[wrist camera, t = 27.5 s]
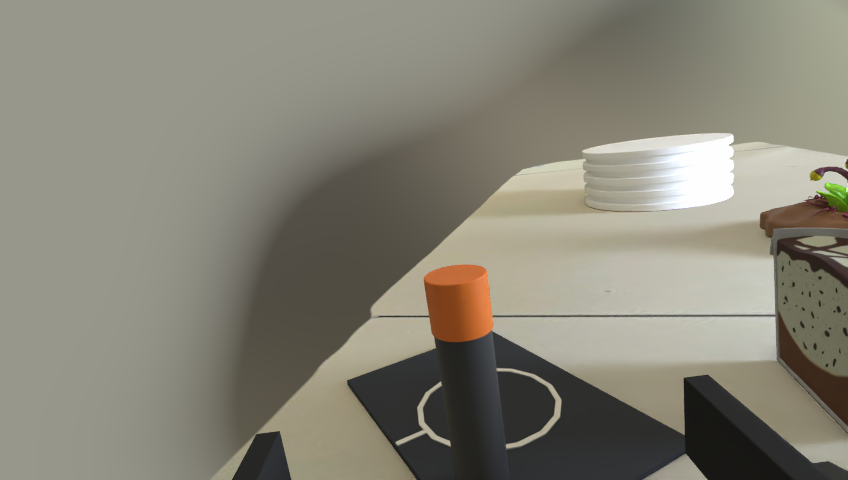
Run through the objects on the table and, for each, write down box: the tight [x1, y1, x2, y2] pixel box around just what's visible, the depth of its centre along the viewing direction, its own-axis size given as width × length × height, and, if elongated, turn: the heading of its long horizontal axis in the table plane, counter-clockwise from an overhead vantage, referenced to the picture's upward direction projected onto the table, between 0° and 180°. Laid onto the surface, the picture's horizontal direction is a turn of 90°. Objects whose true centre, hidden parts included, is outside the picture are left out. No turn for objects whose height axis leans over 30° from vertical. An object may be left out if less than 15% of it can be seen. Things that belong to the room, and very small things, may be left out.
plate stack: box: [582, 133, 733, 211], centre depth 100 cm, size 28×28×12 cm
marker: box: [424, 265, 510, 480], centre depth 25 cm, size 3×3×13 cm
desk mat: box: [347, 332, 685, 480], centre depth 35 cm, size 15×22×1 cm
